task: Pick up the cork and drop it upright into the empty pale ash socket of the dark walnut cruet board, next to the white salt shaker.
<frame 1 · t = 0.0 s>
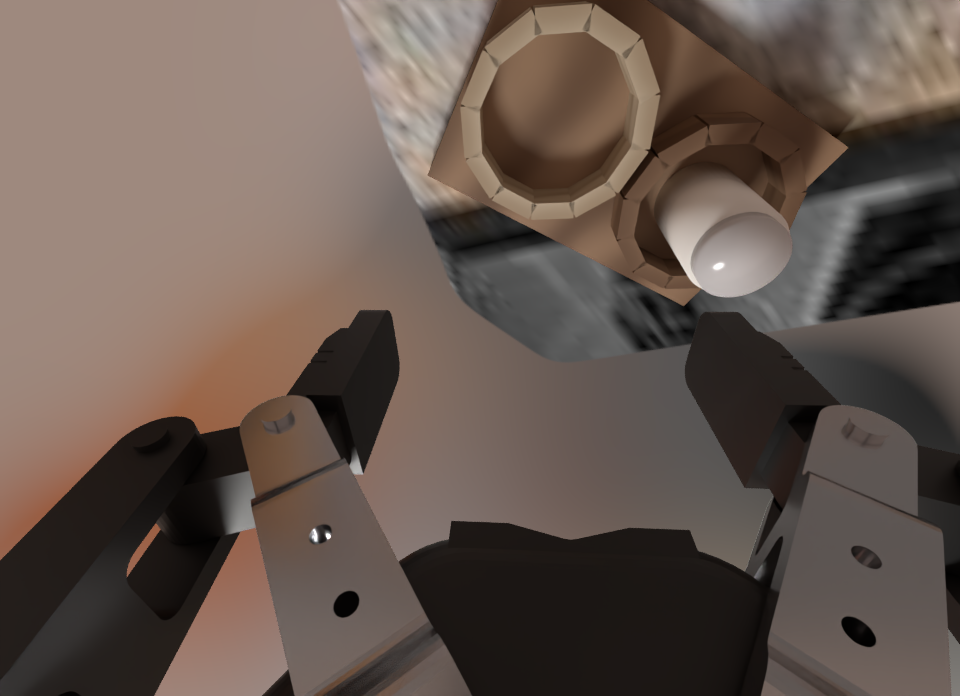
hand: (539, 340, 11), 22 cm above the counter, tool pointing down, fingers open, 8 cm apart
cruet board: (623, 154, 29), on the counter
salt shaker: (694, 201, 29), point 1 cm above the counter, touching cruet board
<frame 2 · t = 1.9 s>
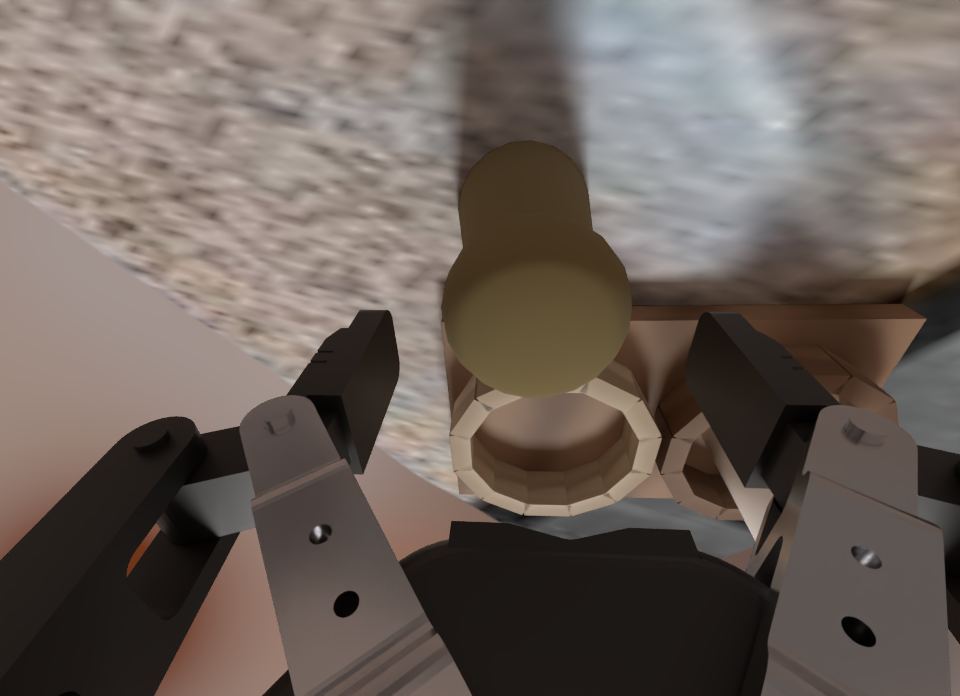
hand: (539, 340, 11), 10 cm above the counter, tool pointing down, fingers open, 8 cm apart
cruet board: (641, 405, 26), on the counter
cork: (522, 211, 20), on the counter
salt shaker: (750, 424, 24), point 1 cm above the counter, touching cruet board
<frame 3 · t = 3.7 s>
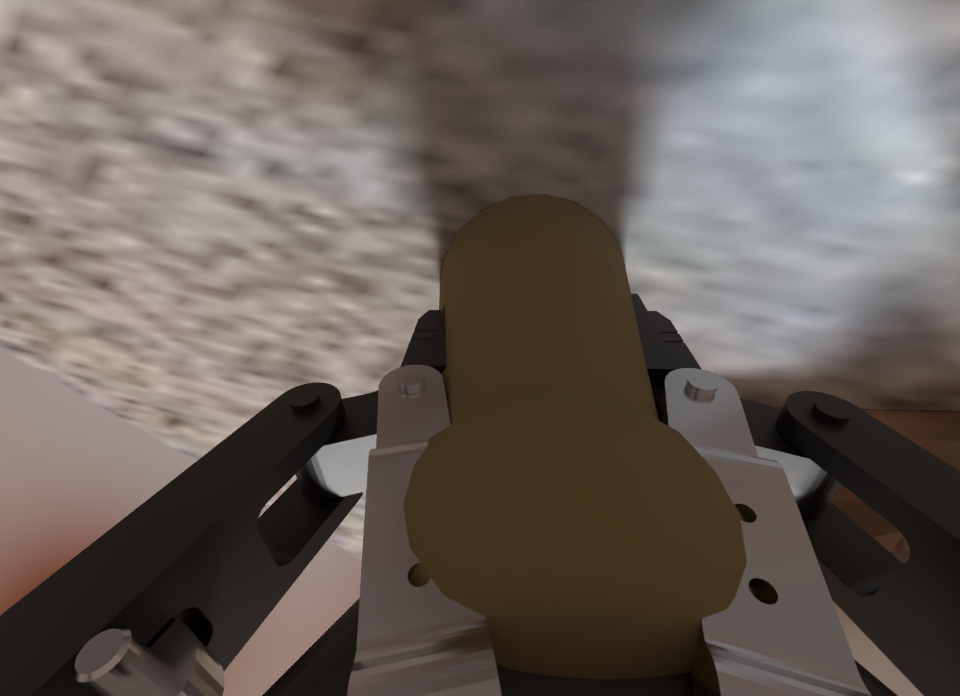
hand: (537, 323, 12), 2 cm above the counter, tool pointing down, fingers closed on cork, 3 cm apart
cruet board: (680, 518, 20), on the counter
cork: (530, 286, 14), on the counter, touching gripper
salt shaker: (829, 554, 18), point 2 cm above the counter, touching cruet board
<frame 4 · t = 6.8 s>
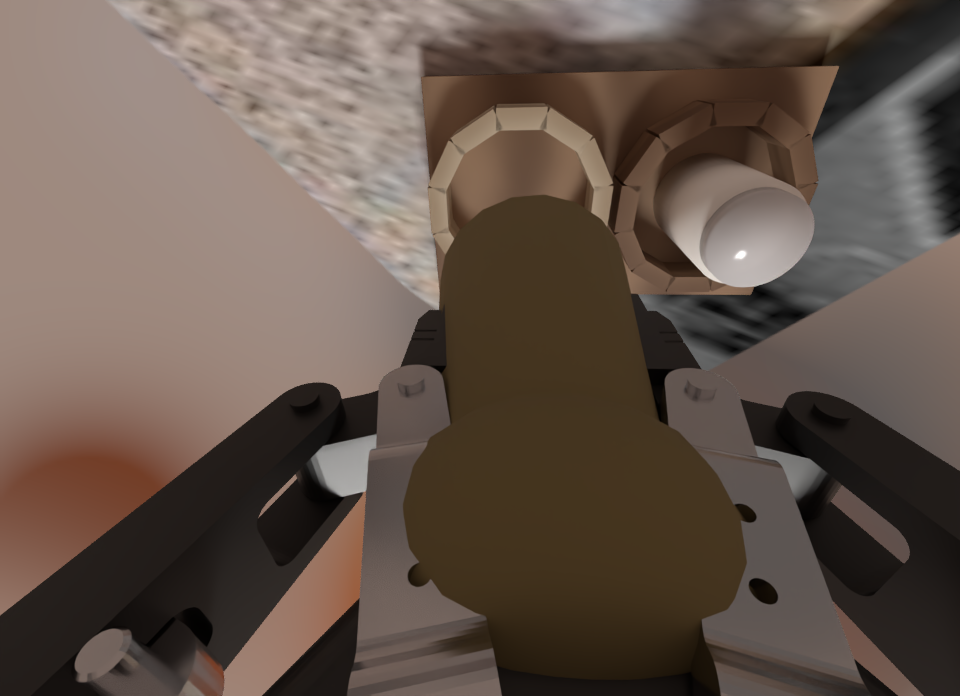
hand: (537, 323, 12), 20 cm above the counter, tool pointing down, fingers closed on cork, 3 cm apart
cruet board: (601, 193, 29), on the counter
cork: (531, 286, 14), point 17 cm above the counter, touching gripper
salt shaker: (696, 198, 27), point 2 cm above the counter, touching cruet board
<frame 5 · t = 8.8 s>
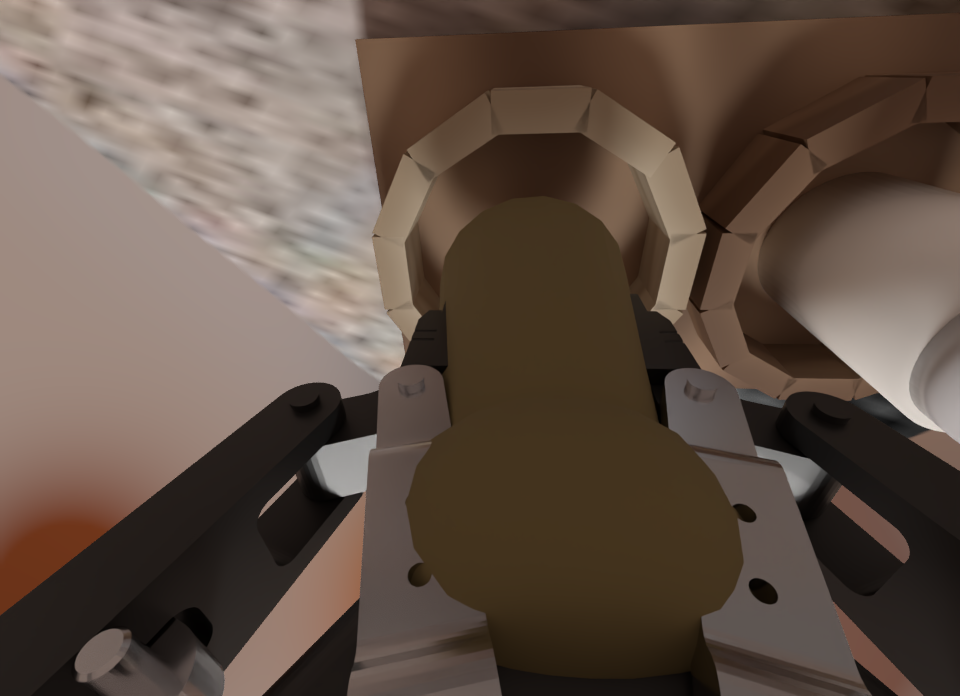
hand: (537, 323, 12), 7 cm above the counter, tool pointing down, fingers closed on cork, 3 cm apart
cruet board: (666, 235, 18), on the counter
cork: (530, 287, 14), point 5 cm above the counter, touching gripper
salt shaker: (834, 246, 16), point 2 cm above the counter, touching cruet board
when the fingers open (5 cm above the counter, at t = 10.0 s): cork drops 1 cm, resting on cruet board.
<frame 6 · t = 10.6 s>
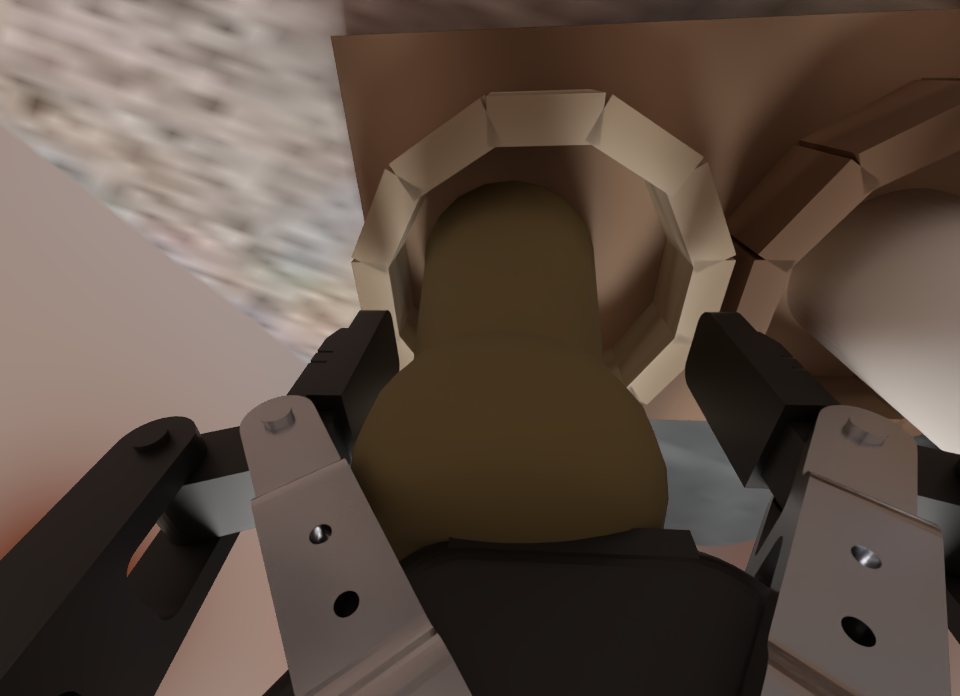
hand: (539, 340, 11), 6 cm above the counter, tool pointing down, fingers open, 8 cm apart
cruet board: (684, 255, 16), on the counter
cork: (508, 266, 15), point 1 cm above the counter, touching cruet board
salt shaker: (875, 270, 14), point 2 cm above the counter, touching cruet board
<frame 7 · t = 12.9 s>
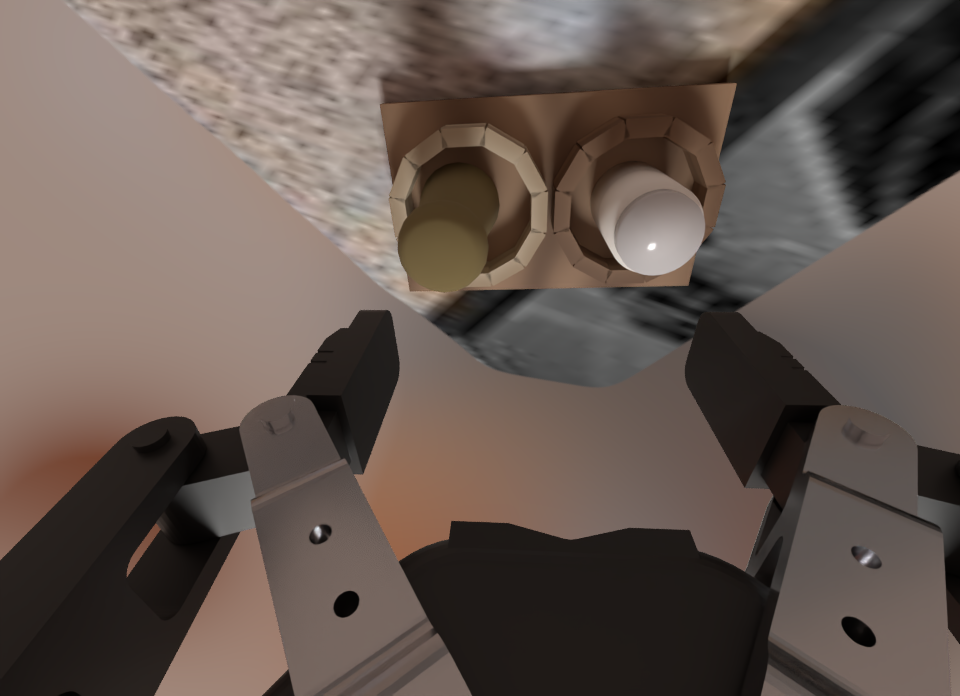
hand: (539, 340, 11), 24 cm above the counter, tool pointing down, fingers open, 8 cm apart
cruet board: (546, 198, 32), on the counter
cork: (460, 204, 32), point 1 cm above the counter, touching cruet board
salt shaker: (627, 200, 31), point 2 cm above the counter, touching cruet board
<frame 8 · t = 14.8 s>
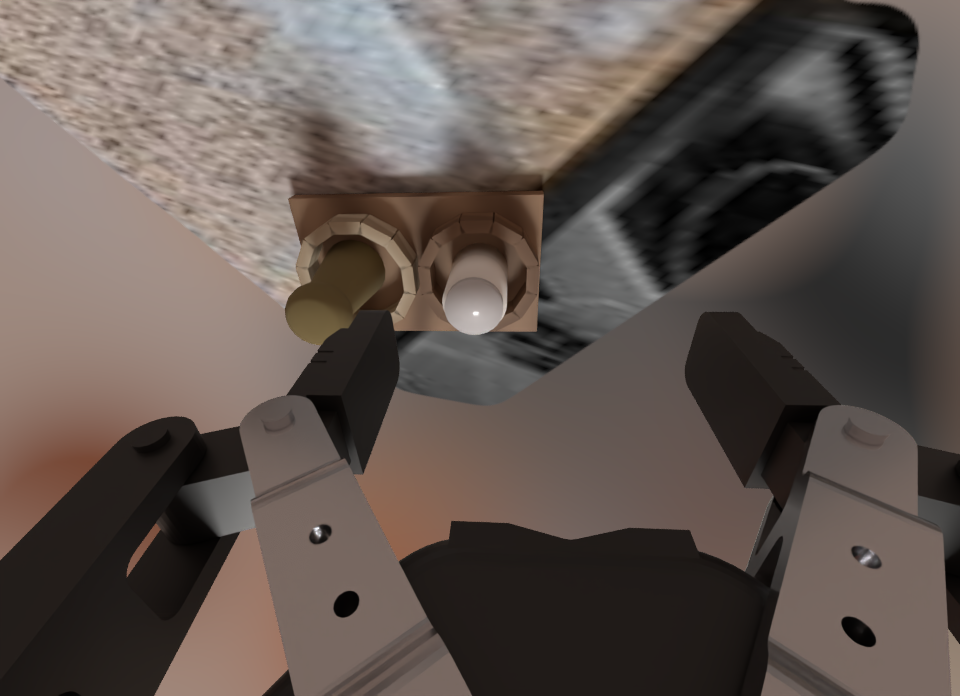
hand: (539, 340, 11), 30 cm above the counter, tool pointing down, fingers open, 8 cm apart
cruet board: (424, 264, 42), on the counter
cork: (356, 268, 42), point 1 cm above the counter, touching cruet board
salt shaker: (480, 269, 41), point 2 cm above the counter, touching cruet board
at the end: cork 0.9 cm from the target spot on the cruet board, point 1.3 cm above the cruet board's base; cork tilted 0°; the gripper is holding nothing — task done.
